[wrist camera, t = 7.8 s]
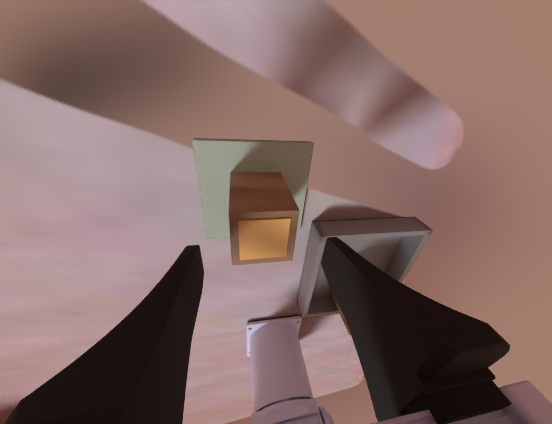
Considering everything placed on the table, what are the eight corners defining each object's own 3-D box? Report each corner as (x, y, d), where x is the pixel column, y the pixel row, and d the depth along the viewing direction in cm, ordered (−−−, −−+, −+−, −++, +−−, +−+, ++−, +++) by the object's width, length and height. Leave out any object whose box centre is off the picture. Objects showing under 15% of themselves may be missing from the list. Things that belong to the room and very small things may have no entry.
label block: (277, 213, 19) (292, 261, 14) (233, 214, 18) (232, 266, 13) (280, 172, 17) (300, 211, 12) (230, 172, 16) (228, 213, 11)
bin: (376, 291, 30) (387, 306, 28) (296, 300, 28) (301, 318, 26) (414, 216, 23) (432, 230, 21) (312, 221, 21) (320, 236, 19)
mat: (297, 230, 21) (299, 234, 21) (207, 235, 20) (206, 239, 19) (311, 141, 16) (313, 143, 16) (193, 138, 15) (192, 140, 14)
